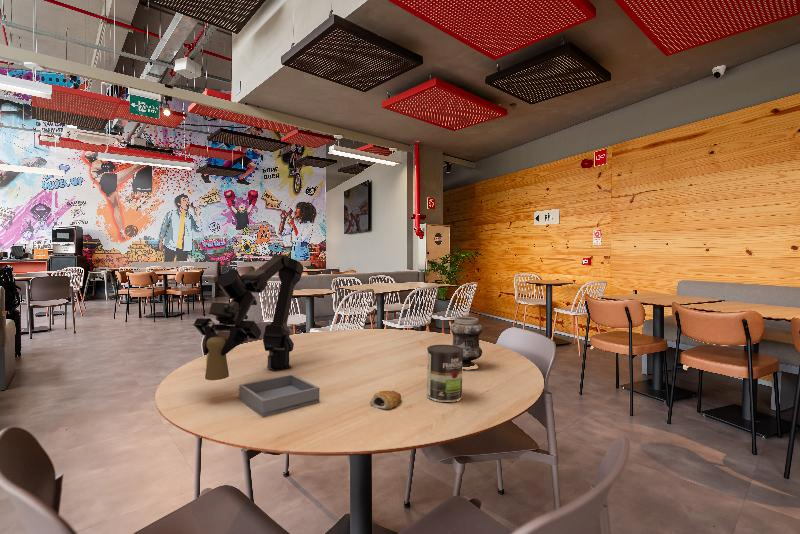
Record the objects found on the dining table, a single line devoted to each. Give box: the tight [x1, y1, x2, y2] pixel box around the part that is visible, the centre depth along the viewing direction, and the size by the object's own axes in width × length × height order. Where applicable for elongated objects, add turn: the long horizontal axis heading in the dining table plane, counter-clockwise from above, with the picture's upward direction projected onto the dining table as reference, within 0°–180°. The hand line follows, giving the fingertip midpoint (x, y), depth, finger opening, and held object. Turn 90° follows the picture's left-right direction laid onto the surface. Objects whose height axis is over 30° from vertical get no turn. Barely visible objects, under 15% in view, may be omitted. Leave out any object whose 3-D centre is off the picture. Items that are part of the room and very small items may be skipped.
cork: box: [204, 336, 230, 381], centre depth 111 cm, size 6×6×11 cm
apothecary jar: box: [449, 316, 484, 367], centre depth 148 cm, size 12×12×18 cm
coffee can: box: [426, 344, 463, 403], centre depth 117 cm, size 10×10×14 cm
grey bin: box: [238, 373, 320, 418], centre depth 112 cm, size 16×16×4 cm
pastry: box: [369, 390, 402, 410], centre depth 111 cm, size 9×7×4 cm
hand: (213, 354), depth 110 cm, fingers closed on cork, 5 cm apart
